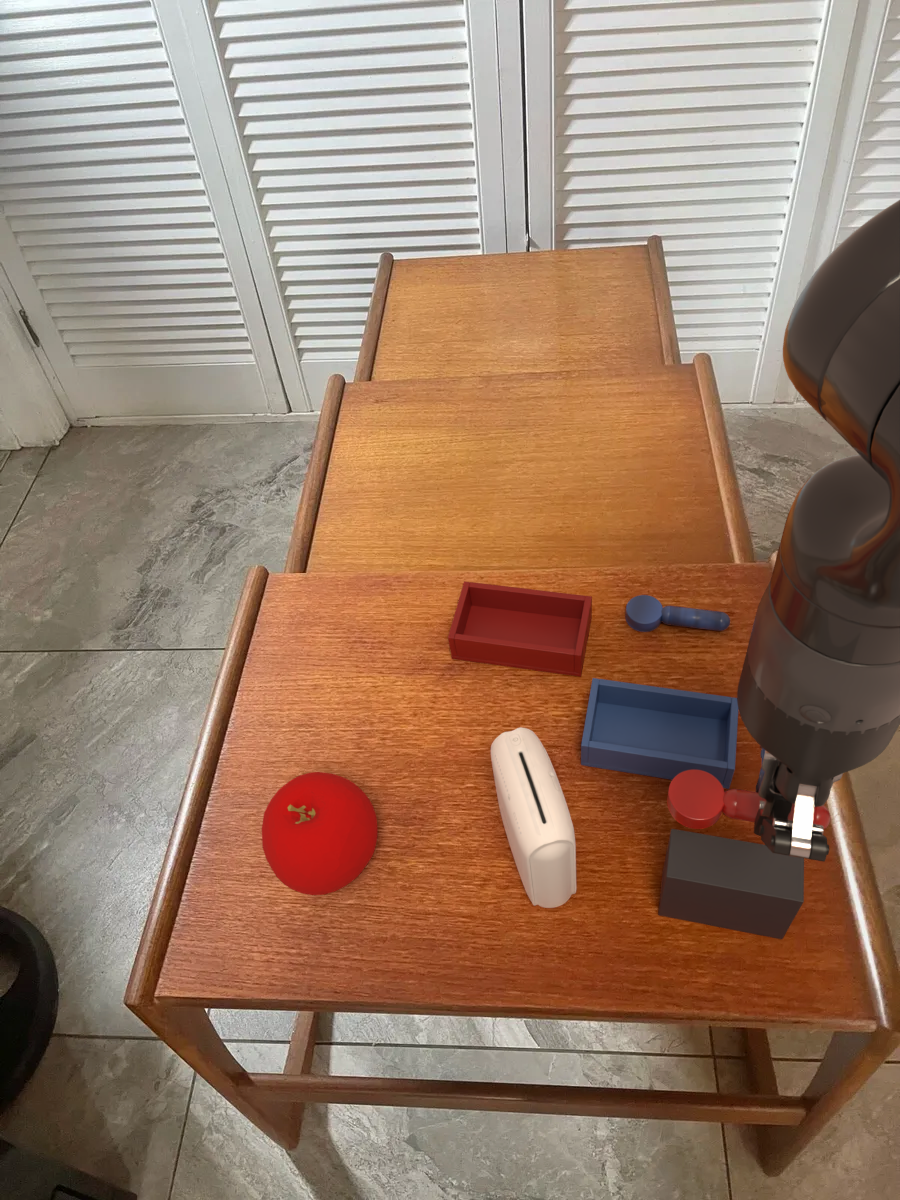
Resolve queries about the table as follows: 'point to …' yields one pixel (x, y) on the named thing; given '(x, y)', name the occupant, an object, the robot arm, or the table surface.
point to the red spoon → (716, 801)
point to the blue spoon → (671, 616)
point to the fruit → (319, 833)
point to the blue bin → (659, 731)
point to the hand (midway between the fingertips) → (772, 814)
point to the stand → (730, 884)
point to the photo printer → (535, 817)
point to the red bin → (521, 628)
